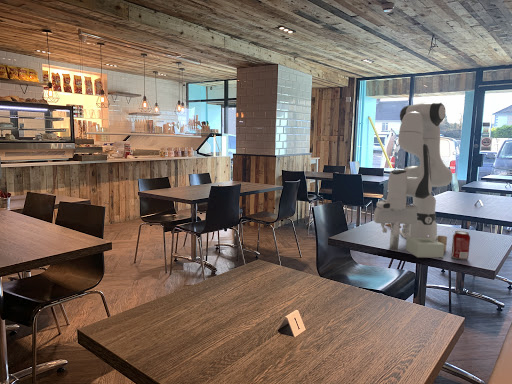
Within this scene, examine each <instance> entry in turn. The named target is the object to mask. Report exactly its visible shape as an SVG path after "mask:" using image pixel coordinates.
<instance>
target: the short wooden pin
mask: <svg viewBox="0 0 512 384" xmlns="http://www.w3.org/2000/svg"><path fill="white" fill-rule="evenodd" d="M437 236H438V239H436V241H438V242H440V243H442V244H444V253H446V251H447V242H448V236H447V235H437Z"/></svg>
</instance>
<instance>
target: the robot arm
mask: <svg viewBox="0 0 512 384" xmlns="http://www.w3.org/2000/svg"><path fill="white" fill-rule="evenodd" d="M445 117H446V106H445V105H444V104H443V103H442V102H439V101H434V102H421V103H416V104H408V105H406V106H403V107H402V109H401V110H400V112H399V120H400V121H401V122H400V127H399V130H398V132H399V133H398V137H397V140H398V145H399V148H401V149H402V150H403V151H404V152H406V153H408V154H411V155H414V156H416V157H417V158H418V160H419V165H411V166H406V167H404V168H403V169H393V170H391V171H390V172H389V176H388V181H387V196H386V199H385V200H384V199H383V200H380V201H377V202H376V208H375V209H374V212H373V222H374V223H376V224H380V227H382V228H381V229H382V232H383V233H384V234H385V233H388V229H387V228H386V226H385V225H386V224H394V223H395V221H399V224H400V225H401V224H402V229H400V231H399V235H401V236H402V237H403V239H407V238H420V237H421V238H432V239H434V240H436V241H437V240H438V236H439V235H438V233H437V232H438V223H437V222H436V218H437V216H436V203H437V200H436V198H435V196H433V195H432V190H433V188H441V187H446V186H449V185H450V184H451V183H452V181H453V173H452V171H451V169H450V168H449V167H448V166H447V165H445V162H443V160H442V158H441V127H440V125H441V123H442V122H443V121H444V119H445ZM407 197H411V198H412V204H410V203H407V200H408V199H407ZM427 235H429V237H428V236H427Z"/></svg>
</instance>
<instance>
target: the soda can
mask: <svg viewBox="0 0 512 384" xmlns="http://www.w3.org/2000/svg"><path fill="white" fill-rule="evenodd" d="M470 242H471V236H470V232H468V231H465V230H455V232H454V234H453V236H452V243H451V244H452V245H451V254H450V255H451V257H452V258H453V259H455V260H459V261H465V260H467V259H469V253H470V245H471V244H470Z"/></svg>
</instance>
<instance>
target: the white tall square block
mask: <svg viewBox="0 0 512 384" xmlns="http://www.w3.org/2000/svg"><path fill="white" fill-rule="evenodd" d="M400 226H401V224H399V221H395V223H394V224H391V227H390V236H389V249H390V250H393V251H396V250H399V242H400V233H399V231H400V230H401V228H400Z"/></svg>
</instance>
